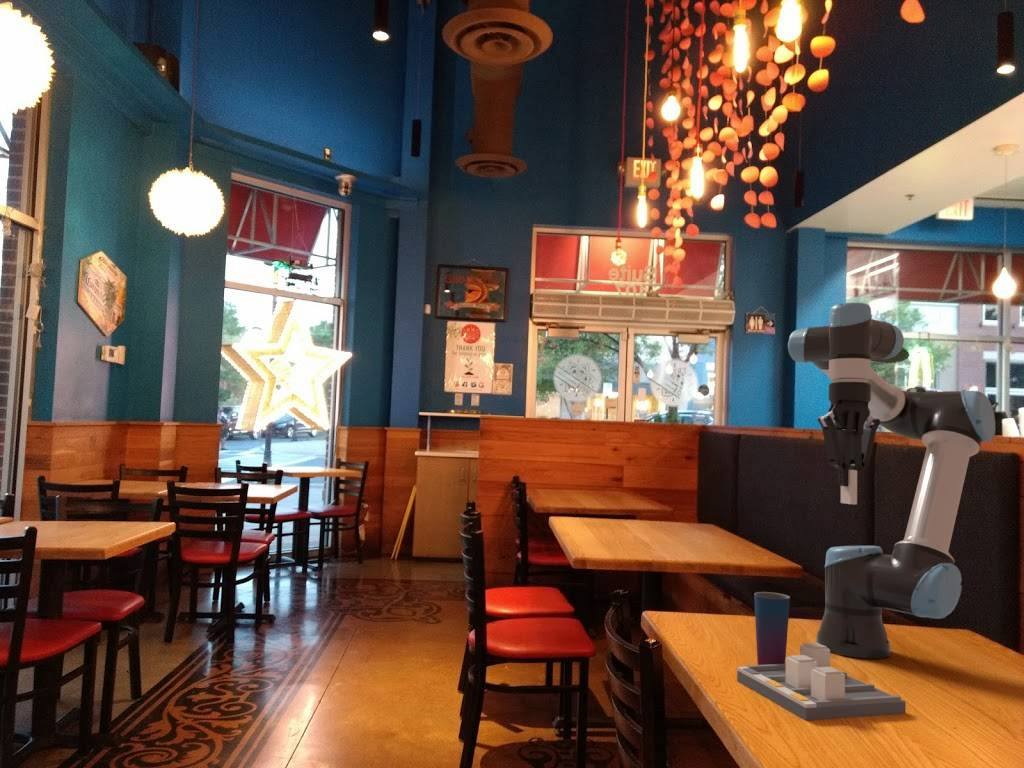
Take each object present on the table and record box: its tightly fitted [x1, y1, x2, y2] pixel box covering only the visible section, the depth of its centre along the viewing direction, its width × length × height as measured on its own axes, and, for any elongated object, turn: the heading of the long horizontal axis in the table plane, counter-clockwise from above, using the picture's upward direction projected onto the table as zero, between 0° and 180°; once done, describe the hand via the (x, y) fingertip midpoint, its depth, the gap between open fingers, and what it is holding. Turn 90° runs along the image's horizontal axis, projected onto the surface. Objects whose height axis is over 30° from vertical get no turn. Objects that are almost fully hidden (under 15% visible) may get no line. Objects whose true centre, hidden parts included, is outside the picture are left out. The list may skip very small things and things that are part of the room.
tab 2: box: [811, 666, 845, 700], centre depth 126 cm, size 4×4×5 cm
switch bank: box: [736, 663, 907, 722], centre depth 133 cm, size 20×20×3 cm
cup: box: [753, 591, 791, 665], centre depth 147 cm, size 7×7×15 cm
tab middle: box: [785, 654, 817, 688], centre depth 133 cm, size 4×4×5 cm
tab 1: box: [799, 642, 831, 667], centre depth 142 cm, size 4×4×5 cm
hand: (848, 503), depth 142 cm, fingers closed
